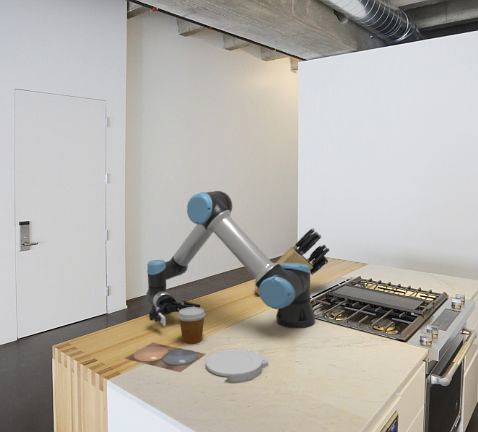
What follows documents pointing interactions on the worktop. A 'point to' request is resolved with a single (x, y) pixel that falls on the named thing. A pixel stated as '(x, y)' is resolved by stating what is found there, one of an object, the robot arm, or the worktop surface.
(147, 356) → the terracotta disc
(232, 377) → the lid
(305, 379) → the worktop surface
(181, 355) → the slate disc
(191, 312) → the disposable coffee cup
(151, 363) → the walnut board
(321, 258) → the knife block
